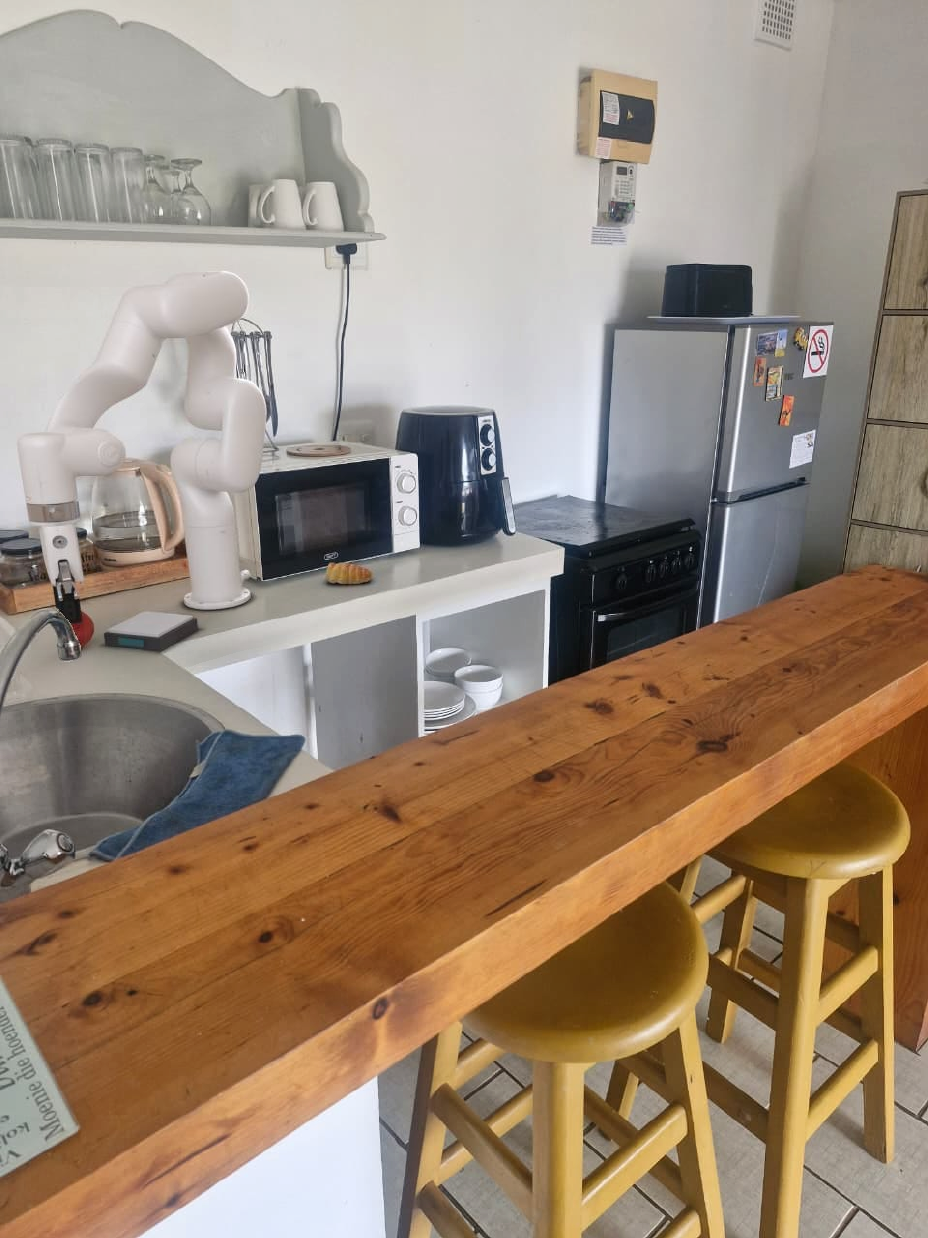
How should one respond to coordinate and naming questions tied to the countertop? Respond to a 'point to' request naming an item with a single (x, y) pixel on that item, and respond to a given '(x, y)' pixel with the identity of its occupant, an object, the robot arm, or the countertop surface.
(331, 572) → the pastry
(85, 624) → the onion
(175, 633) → the scale
